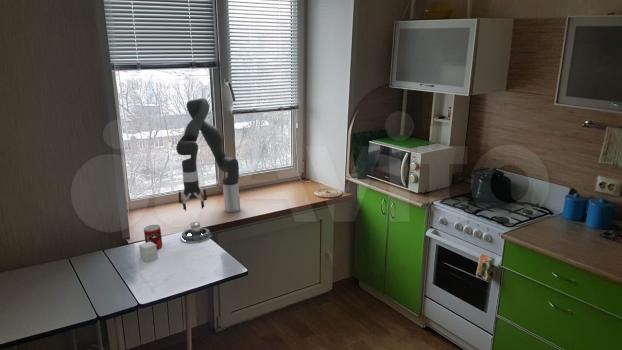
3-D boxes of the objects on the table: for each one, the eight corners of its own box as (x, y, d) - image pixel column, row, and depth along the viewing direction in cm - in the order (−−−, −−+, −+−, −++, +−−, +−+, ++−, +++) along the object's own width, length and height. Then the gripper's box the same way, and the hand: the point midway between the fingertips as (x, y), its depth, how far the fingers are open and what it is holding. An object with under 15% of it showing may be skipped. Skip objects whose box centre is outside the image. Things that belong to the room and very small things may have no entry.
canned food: (143, 249, 233) (140, 229, 231) (153, 243, 241) (150, 223, 238) (155, 251, 231) (153, 231, 228) (165, 245, 238) (163, 225, 235)
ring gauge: (210, 229, 257) (209, 225, 257) (212, 240, 243) (212, 235, 242) (180, 233, 253) (179, 229, 252) (180, 244, 238) (180, 240, 238)
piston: (200, 233, 251) (199, 221, 249) (201, 236, 246) (200, 224, 244) (191, 234, 249) (190, 222, 248) (191, 238, 245) (190, 225, 243)
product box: (158, 258, 223) (156, 244, 221) (146, 262, 219) (144, 248, 217) (152, 255, 227) (150, 241, 225) (140, 259, 223) (138, 244, 221)
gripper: (204, 176, 245) (207, 205, 249) (176, 179, 241) (179, 208, 245) (205, 179, 238) (208, 209, 242) (176, 182, 234) (180, 213, 238)
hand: (193, 209), depth 244 cm, fingers open, 8 cm apart
